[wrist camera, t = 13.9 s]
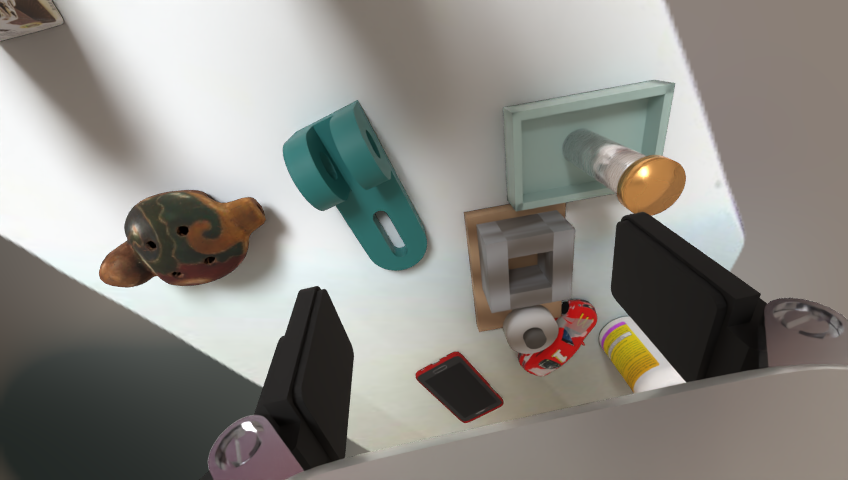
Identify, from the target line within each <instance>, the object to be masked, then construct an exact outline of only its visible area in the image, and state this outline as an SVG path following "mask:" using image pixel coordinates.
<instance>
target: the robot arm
mask: <svg viewBox="0 0 848 480" xmlns="http://www.w3.org/2000/svg"><path fill="white" fill-rule="evenodd" d="M611 292H612V295H613V297H614V298H615V300H616V301H617V302H618V303H619V304H620V306H621V307H622V308H623V309H624V310H625V311H626V313H627V314H628V315H629V316H630V317H631V318H632V320H633V321H634V322H635V323H636V324H637V326H638V327H639V328H640V329H641V330H642V331H643V333H644V334H645V335H646V336H647V337H648V338H649V340H650V341H651V342H652V343H653V344H654V345H655V347H656V348H657V349H658V350H659V351H660V353H661V354H662V355H663V356H664V357H665V358H666V360H667V361H668V362H669V363H670V364H671V365H672V367H673V368H674V369H675V370H676V371H677V373H678V374H679V375H680V376H681V377H682V378H683V380H684V381H685V382H686V383H682V384H677V385H672V386H667V387H663V388H658V389H653V390H649V391H644V392H639V393H634V394H630V395H625V396H620V397H616V398H611V399H606V400H601V401H597V402H592V403H587V404H583V405H578V406H574V407H569V408H564V409H560V410H555V411H550V412H546V413H541V414H537V415H532V416H528V417H523V418H518V419H514V420H509V421H505V422H500V423H495V424H491V425H486V426H482V427H477V428H473V429H468V430H464V431H460V432H455V433H451V434H446V435H442V436H437V437H433V438H428V439H424V440H419V441H415V442H410V443H406V444H401V445H397V446H393V447H389V448H385V449H381V450H376V451H372V452H368V453H364V454H360V455H356V456H352V457H347V458H345V451H346V439H347V428H348V416H349V405H350V394H351V382H352V371H353V360H354V353H353V348H352V345H351V343H350V340H349V338H348V336H347V334H346V332H345V329H344V327H343V325H342V323H341V321H340V318H339V316H338V314H337V312H336V310H335V307H334V305H333V303H332V301H331V299H330V296H329V294H328V292H327V290H326V289H323V290H321V289H320V287H318V286H315V287H311V288H307V289H302V290H300V291H299V293H298V295H297V299H296V302H295V305H294V308H293V311H292V314H291V317H290V321H289V324H288V327H287V330H286V333H285V336H282V337H281V338H280V339H279V342H278V344H277V347H276V350H275V353H274V356H273V359H272V362H271V365H270V368H269V371H268V374H267V377H266V380H265V383H264V386H263V389H262V392H261V395H260V398H259V401H258V405H257V408H256V411H255V413H254V415H251V416H247V417H244V418H242V419H239V420H238V421H236V422H235V423H233V424H232V425H230V426H229V427H228V428H227V429H226V430H225V431H224V432H223V433H222V434H221V435H220V436H219V437H218V439H217V440H216V441H215V443H214V445H213V447H212V449H211V451H210V453H209V459H208V466H209V471H208V472H207V473H206V474H205V475H204V476H203V477H202V478H200V479H199V480H848V319H846V318H845V317H844V316H843V315H842V314H840V313H838V312H837V311H835V310H833V309H831V308H830V307H827V306H824V305H822V304H819V303H817V302H813V301H809V300H804V299H798V298H779V299H775V300H772V301H770V302H769V303H768V304H767V303H766V302H764V301H763V300H762V299H760V298H759V297H760V295H761V294H760V293H759V292H757V291H756V290H755V289H753V288H752V287H750V286H749V285H748V284H746V283H745V282H743V281H742V280H741V279H739V278H738V277H736V276H735V275H734V274H732V273H731V272H729V271H728V270H727V269H725V268H724V267H722V266H721V265H719V264H718V263H717V262H715V261H714V260H712V259H711V258H710V257H708V256H707V255H705V254H704V253H703V252H701V251H700V250H698V249H697V248H695V247H694V246H693V245H691V244H690V243H688V242H687V241H686V240H684V239H683V238H681V237H680V236H679V235H677V234H676V233H674V232H673V231H671V230H670V229H669V228H667V227H666V226H664V225H663V224H662V223H660V222H659V221H657V220H656V219H655V218H653V217H652V216H650V215H649V214H647V213H646V212H639V213H635V214H630V215H626V216H624V217H622V219H621V221H620V222H618V223H617V226H616V237H615V248H614V259H613V270H612V281H611Z"/></svg>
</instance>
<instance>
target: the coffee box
mask: <svg viewBox="0 0 848 480" xmlns="http://www.w3.org/2000/svg"><path fill="white" fill-rule="evenodd" d="M61 24H63V18H62V17H61V15H60V13H59V12H58V10H57V9H56V7H55V5H54V4H53V2H52V1H51V0H0V41H3V40H6V39H10V38H14V37H18V36H22V35H26V34H29V33H33V32H37V31H41V30H45V29H48V28H51V27H55V26H58V25H61Z"/></svg>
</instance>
